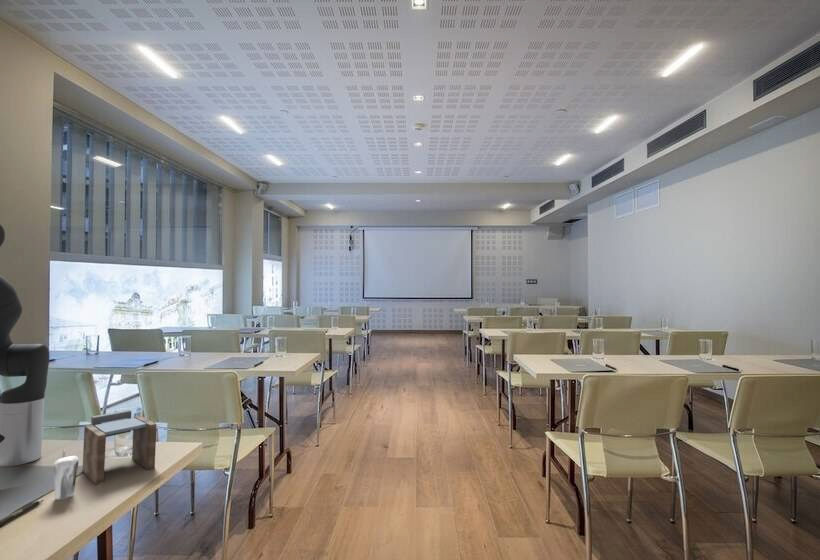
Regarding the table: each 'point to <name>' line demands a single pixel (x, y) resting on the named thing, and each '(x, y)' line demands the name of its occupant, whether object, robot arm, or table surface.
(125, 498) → the table surface
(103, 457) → the stand
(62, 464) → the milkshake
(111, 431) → the trapdoor
